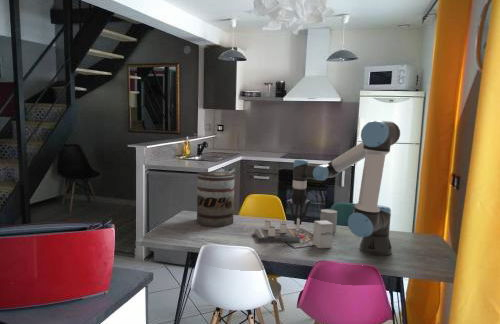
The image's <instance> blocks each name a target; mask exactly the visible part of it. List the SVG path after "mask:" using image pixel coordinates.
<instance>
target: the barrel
mask: <svg viewBox="0 0 500 324" xmlns="http://www.w3.org/2000/svg"><path fill="white" fill-rule="evenodd" d="M235 178H236V177H235V174H234V173H232V172H228V171H227V172H226V171H204V172H202V171H201V172H198V173H197V187H196V188H197V193H196V195H197V196H196V198H197V200H196V201H197V202H196V203H197V204H196V224H198V225H200V226H202V227H209V228H221V227H223V228H225V227H228V226H231V225H233V224H234V213H235V212H234V207H235V205H234V204H235Z"/></svg>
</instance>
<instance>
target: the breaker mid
mask: <svg viewBox="0 0 500 324" xmlns="http://www.w3.org/2000/svg"><path fill="white" fill-rule="evenodd" d="M279 229H280V233H287V229H288V225H287V223H285V222H284V223H282V222H281V223H280V224H279Z"/></svg>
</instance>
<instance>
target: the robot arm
mask: <svg viewBox="0 0 500 324" xmlns="http://www.w3.org/2000/svg"><path fill="white" fill-rule="evenodd" d="M400 136H401V129H400V127H399V126H398V125H397V123H395V122H393V121H389V120H378V119H376V120H371V121H369V122H367V123H366V124H364V126H363V127H362V129H361V131H360V139H361V141H362V142H360V143H359V144H357V145H355V146H353V147H352V148H350V149H349V150H347V151H345V152H344V153H342V154H340V155H339V156H337V157H335V158H334V159H332V160H331V161H329V162H327V163H325V164H309V161H308V160H307V159H298V158H297V159H294V160H293V166H292V170H293V171H292V175H293V176H292V190H291V197H290V199H287V200H286V202H287V204H288V207H289V213H290V216H291V218H292V219H293V224H294V225H295V227H294V229H295V230H294V231H295V232H300V228H301V227H300V226H301V225H302V220H303V219H305V218H306V216H307V213H308V212H307V211H308V209H309V205H310V204H311V200H309V199H307V182H308V179H310V180H316V181H326V180H327V179H328V178H331V179H332V178H335V177H337V176H339V174H340V173H341V172H343V171H344V170H346V169H348V168H350V167H352V166H354V165H355V164H357V163H359V162H360V161H362V160H364V163H363V169H362V176H361V183H360V189H359V196H358V202H357V203H355V204H354V207H353V211H352V212H353V213H352V214H350V215H349V216H348V219H347V226H348V229H349V230H350V231H351V232H350V233H352V234H353V235H355V236H356V237H359V238H362V239H361V242H360V243H359V250H360V251H362V252H363V253H366V254H369V255H372V256H374V255H375V256H389V255H391V254H392V253H393V247H392V243H391V239H390V229H391V217H392V214H391V213H392V212H391V211H392V210H391V208H390V206H389V207H388V206H385V205H380V204H379V199H380V198H379V197H380V191H381V184H382V178H383V172H384V167H385V159H386V155H388V154H389V153H390V152H391V151H390V150H391V147H392V146H394V145H395V144H396V143H398V141H399V139H400ZM292 203H293V204H294V208H293V204H292Z"/></svg>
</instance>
